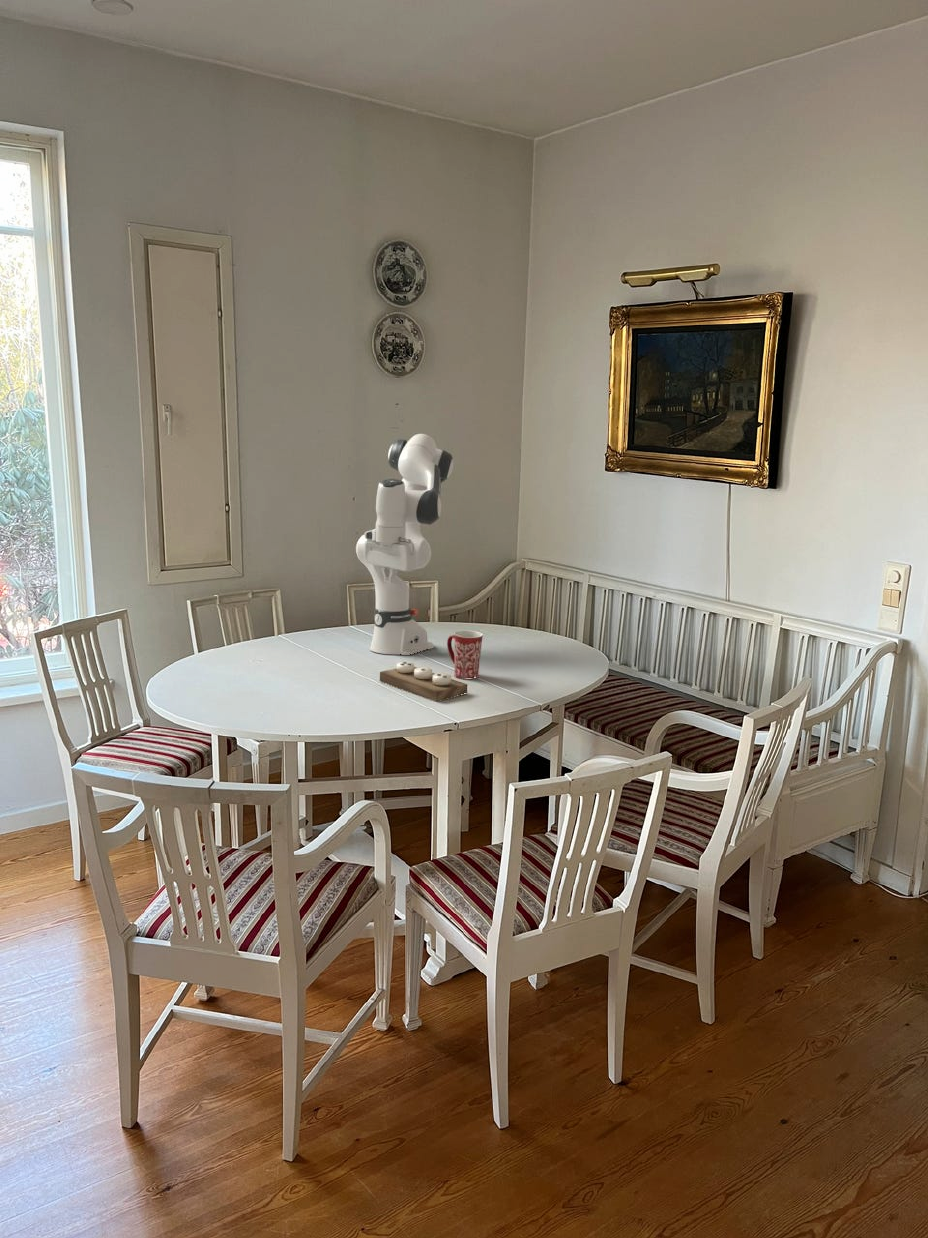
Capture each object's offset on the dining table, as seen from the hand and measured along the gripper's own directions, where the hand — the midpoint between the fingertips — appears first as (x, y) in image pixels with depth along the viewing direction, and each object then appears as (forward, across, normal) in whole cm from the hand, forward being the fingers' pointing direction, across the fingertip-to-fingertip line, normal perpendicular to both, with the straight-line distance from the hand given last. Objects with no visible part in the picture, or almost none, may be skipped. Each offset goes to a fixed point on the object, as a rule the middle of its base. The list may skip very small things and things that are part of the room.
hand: (389, 582), depth 279 cm
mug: (+29, -12, -20) cm, 37 cm away
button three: (+26, -7, -1) cm, 27 cm away
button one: (+26, -15, -1) cm, 30 cm away
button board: (+29, -15, -1) cm, 33 cm away
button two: (+26, -23, -1) cm, 34 cm away
